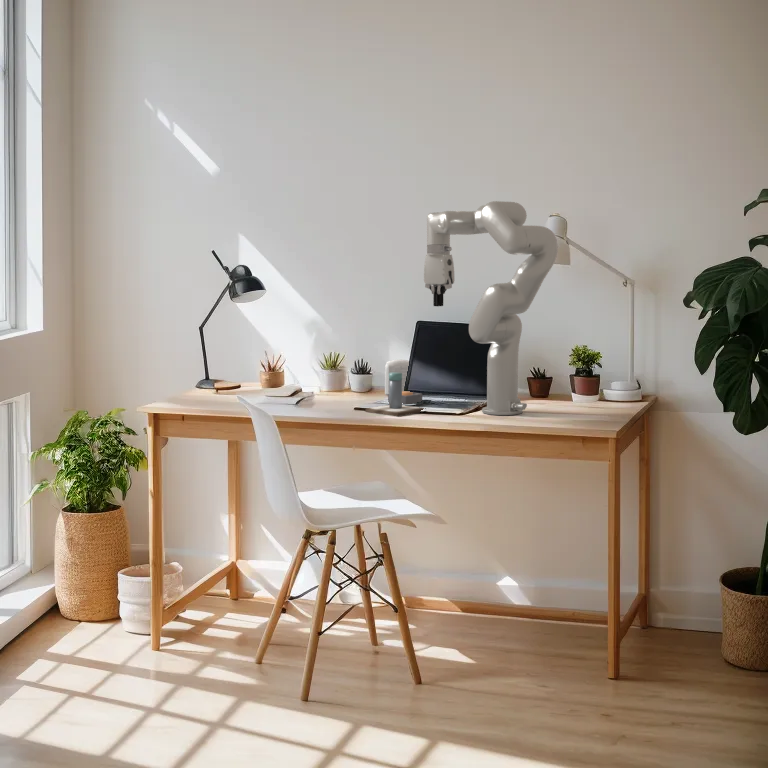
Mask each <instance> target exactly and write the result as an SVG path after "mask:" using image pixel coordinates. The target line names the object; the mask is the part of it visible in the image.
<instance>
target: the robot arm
mask: <svg viewBox="0 0 768 768" xmlns="http://www.w3.org/2000/svg"><path fill="white" fill-rule="evenodd" d="M426 217H427V218H426V254H425V257H424V258H425V259H424V267H423V281H424V283H425V286H424V287H425V288H426V289H428V290H430V291H431V294H432V295H433V297H432V298H433V300H432V301H433V307H443V306H444V295H445V294H446V291H447V290H449V289H452V288H453V286H452V285H453V284H455V266H454V265H455V264H454V258H453V255H452V254H451V251H452V250H453V249H452V246H451V245H450V244H451V235H452V236H453V235H456V236H457V235H464V236H466V235H468V236H469V235H480V234H481V235H482V234H489V235H490V236H491V238H492V239H493V240H494V241H495V242H496V244H497V245H498V246H499V247H500V248H501V249H502V250H503V252H506V253H507V254H510V255H516V256H517V255H524V256H525V255H528V257H527V258H526V259H525V260H524V261H522V262H521V263H520V265H518V267H517V269H516V271H515V273H514V275H513V277H512V278H511V279H510V281H509V282H501V283H494V284H492V285H490V286H489V287H487V288H486V290H485V291H483V293H482V295H481V298H480V299H479V301H478V303H477V305H476V307H475V309H474V312H473V313H472V316H471V318H470V320H469V323H468V334H469V336H470V338H471V339H472V341H473V342H475V343H477V344H482V345H484V344H490V347H489V349H488V352H487V364H486V365H487V366H486V370H487V371H486V375H487V376H486V406H485V407H482V408H481V412H482V413H483V414H487V415H492V416H493V415H494V416H513V415H514V416H515V415H519V414H522V413H523V411H525V410H526V408H527V406H528V404H527V403H525V402H521V401H522V400H521V398H519V397H518V396H519V395H518V393H519V388H518V387H519V385H518V384H519V349H520V342H521V336H522V330H523V323H522V320H521V318H520V317H519V316H518V315H520V314H524V313H525V312H527V311H528V309H530V306H531V305H532V303H533V301H534V299H535V297H536V296H537V294H538V291H539V290H540V288H541V286H542V283H543V282H544V281H545V279H546V277H547V275H548V274H549V272H550V271H551V269H552V268H553V266H554V264H555V262H556V260H557V257H558V248H559V246H558V244H559V243H558V239H557V236H556V235H555V233H554V232H553V230H551V228H548V227H545V226H541V225H524V224H525V223H526V221H527V210H526V208H525V207H524V206H523V205H522V204H520V203H518V202H515V201H500V200H494V201H490V202H488V203H486V204H483V205H481V206H479V207H478V208H477V209H476V210H473V211H470V210H469V211H467V210H463V211H462V210H461V211H460V210H459V211H458V210H446V211H442V212H441V211H440V212H429V213H428V215H427V216H426Z"/></svg>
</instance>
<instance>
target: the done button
mask: <svg viewBox="0 0 768 768" xmlns="http://www.w3.org/2000/svg"><path fill="white" fill-rule="evenodd" d="M413 393H414V391H413V392H410V391H402V395H404V396H407V395H413Z"/></svg>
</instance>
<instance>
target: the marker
mask: <svg viewBox="0 0 768 768" xmlns="http://www.w3.org/2000/svg"><path fill="white" fill-rule="evenodd" d="M389 408H391V409H400V408H402V373H400V372H392V373H389Z"/></svg>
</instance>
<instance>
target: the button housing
mask: <svg viewBox="0 0 768 768" xmlns="http://www.w3.org/2000/svg"><path fill="white" fill-rule="evenodd" d="M421 401H422V402H423V393H419V392H413V395H407V396H404V395H402V403H403V404H412V403H417V402H421ZM388 402H389V394H388V395H387V403H388Z"/></svg>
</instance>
